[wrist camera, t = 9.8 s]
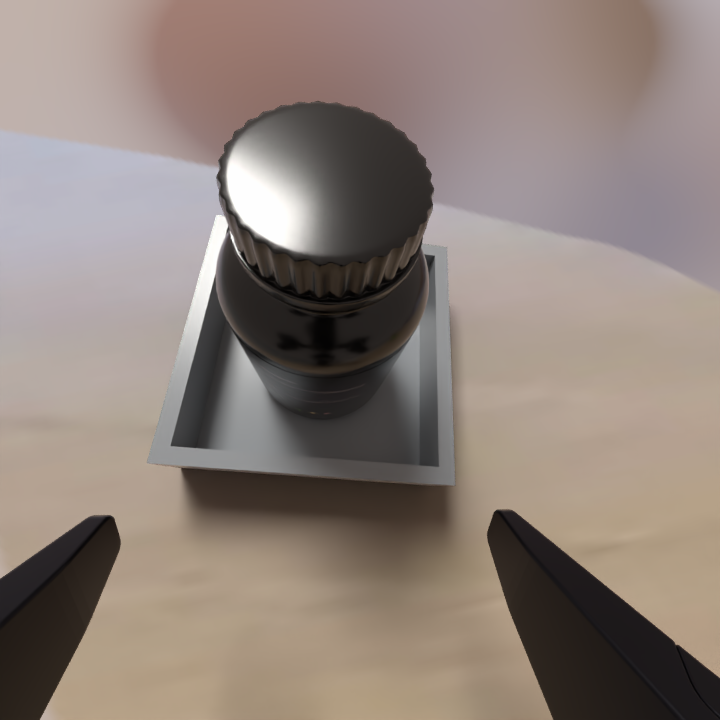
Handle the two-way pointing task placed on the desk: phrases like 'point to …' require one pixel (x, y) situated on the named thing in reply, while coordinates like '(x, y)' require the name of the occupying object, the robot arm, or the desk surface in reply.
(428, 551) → the desk surface
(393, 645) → the desk surface
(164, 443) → the box
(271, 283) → the supplement bottle
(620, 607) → the robot arm
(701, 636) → the desk surface
